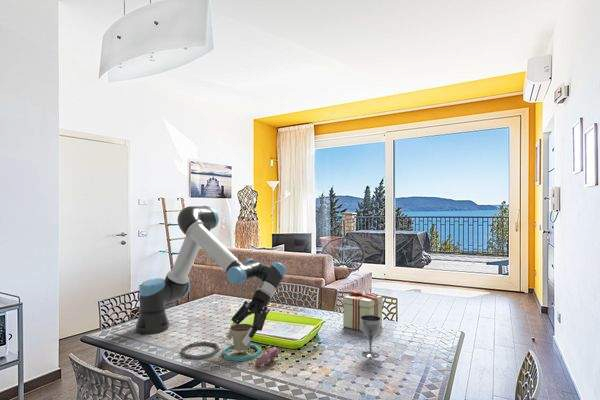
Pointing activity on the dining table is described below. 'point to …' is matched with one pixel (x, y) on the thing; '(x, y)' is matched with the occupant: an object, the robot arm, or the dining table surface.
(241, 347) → the flower pot
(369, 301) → the gift box
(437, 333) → the dining table surface
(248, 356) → the collar
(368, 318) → the wine glass
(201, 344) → the collar
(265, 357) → the pink toy animal
